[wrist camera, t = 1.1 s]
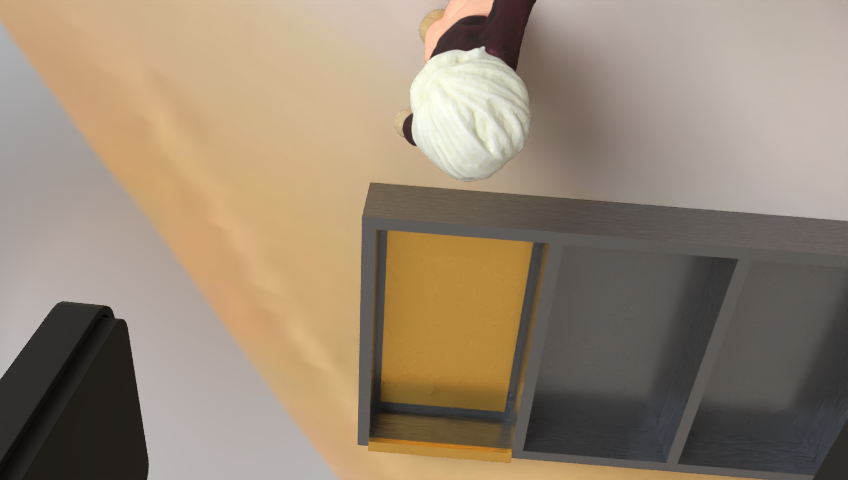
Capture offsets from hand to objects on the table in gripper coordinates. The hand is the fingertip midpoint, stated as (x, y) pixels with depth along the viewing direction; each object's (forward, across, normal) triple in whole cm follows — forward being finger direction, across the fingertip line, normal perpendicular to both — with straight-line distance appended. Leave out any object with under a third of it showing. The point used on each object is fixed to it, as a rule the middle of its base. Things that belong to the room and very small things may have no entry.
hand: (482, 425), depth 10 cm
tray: (+23, -9, +16) cm, 30 cm away
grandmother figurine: (+23, 0, +1) cm, 23 cm away
